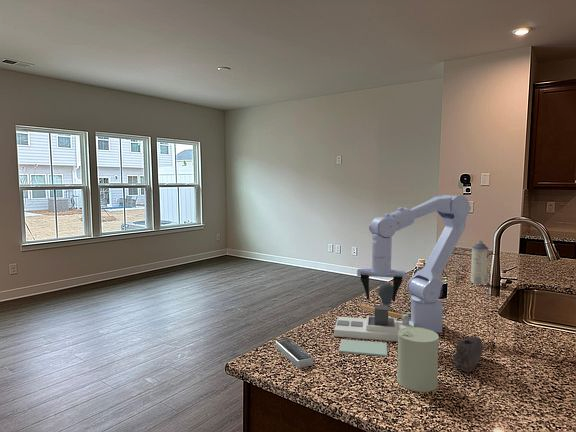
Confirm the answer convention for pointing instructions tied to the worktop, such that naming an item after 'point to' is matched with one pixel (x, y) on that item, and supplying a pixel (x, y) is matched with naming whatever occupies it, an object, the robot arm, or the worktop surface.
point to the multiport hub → (294, 353)
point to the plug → (381, 317)
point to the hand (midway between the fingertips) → (380, 299)
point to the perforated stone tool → (468, 353)
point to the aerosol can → (479, 264)
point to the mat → (363, 347)
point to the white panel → (368, 328)
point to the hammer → (391, 314)
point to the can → (418, 359)
